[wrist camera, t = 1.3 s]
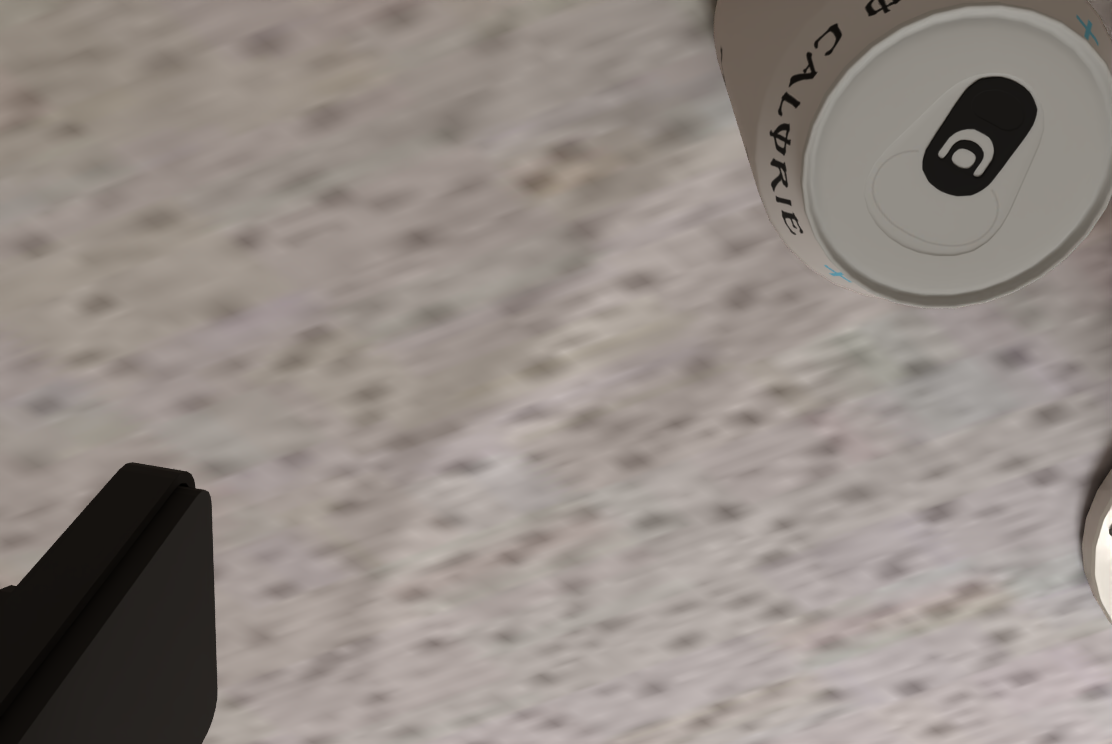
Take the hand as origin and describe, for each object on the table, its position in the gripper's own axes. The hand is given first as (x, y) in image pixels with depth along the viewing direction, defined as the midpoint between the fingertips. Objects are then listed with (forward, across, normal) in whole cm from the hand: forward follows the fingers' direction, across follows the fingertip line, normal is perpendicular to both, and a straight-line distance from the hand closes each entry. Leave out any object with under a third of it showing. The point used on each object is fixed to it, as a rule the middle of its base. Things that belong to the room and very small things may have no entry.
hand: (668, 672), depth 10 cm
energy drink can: (+24, -4, -3) cm, 24 cm away
